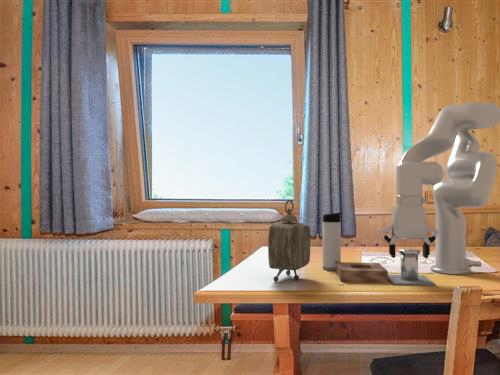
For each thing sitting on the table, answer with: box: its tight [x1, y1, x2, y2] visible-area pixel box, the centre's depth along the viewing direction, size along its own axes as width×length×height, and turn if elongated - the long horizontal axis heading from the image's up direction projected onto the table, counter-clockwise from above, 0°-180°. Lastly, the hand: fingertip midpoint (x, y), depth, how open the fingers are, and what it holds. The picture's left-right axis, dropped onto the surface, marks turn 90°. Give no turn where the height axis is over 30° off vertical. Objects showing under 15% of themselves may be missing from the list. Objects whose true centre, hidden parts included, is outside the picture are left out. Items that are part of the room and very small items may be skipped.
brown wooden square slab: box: [336, 261, 389, 284], centre depth 140 cm, size 14×14×4 cm
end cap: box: [398, 248, 421, 281], centre depth 135 cm, size 6×6×9 cm
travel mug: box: [322, 211, 343, 272], centre depth 154 cm, size 6×7×20 cm
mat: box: [388, 274, 437, 287], centre depth 135 cm, size 12×12×1 cm
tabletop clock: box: [267, 199, 311, 283], centre depth 137 cm, size 14×9×25 cm, turn 155°
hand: (409, 257), depth 135 cm, fingers open, 9 cm apart
